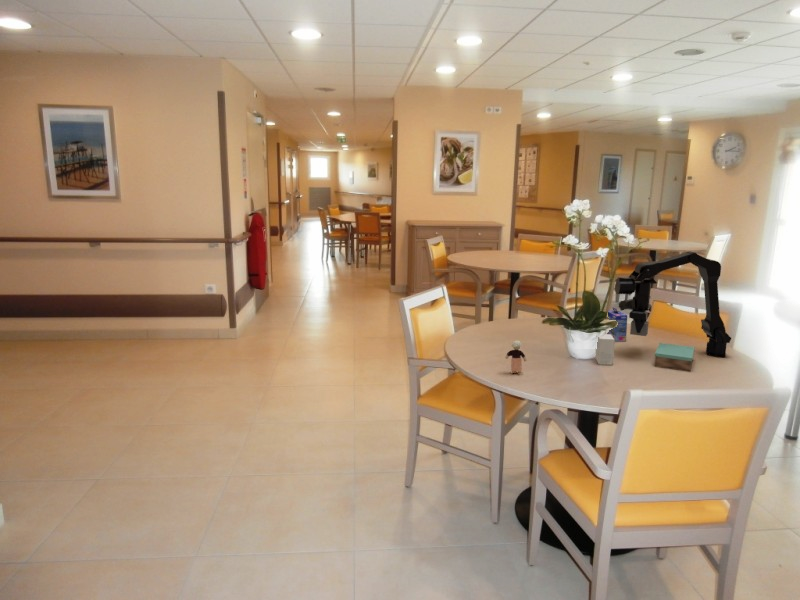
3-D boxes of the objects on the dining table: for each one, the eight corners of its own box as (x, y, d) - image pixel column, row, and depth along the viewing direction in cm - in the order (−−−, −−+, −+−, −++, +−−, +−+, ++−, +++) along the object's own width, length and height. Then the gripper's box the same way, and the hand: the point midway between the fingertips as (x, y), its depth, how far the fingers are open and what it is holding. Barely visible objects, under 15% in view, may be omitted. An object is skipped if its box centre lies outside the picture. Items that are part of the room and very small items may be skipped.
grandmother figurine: (525, 371, 200) (526, 339, 197) (526, 375, 196) (527, 342, 193) (504, 370, 201) (505, 338, 198) (505, 374, 197) (506, 341, 195)
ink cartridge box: (604, 335, 247) (606, 305, 244) (615, 335, 247) (618, 305, 244) (614, 341, 237) (617, 310, 234) (626, 341, 238) (629, 310, 235)
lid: (694, 350, 211) (694, 347, 210) (691, 361, 197) (692, 358, 197) (659, 345, 217) (659, 342, 217) (654, 356, 203) (655, 353, 203)
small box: (613, 365, 206) (615, 339, 204) (598, 364, 207) (599, 338, 205) (609, 359, 214) (611, 333, 211) (594, 358, 215) (596, 333, 213)
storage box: (692, 359, 212) (693, 350, 211) (689, 371, 198) (691, 361, 198) (659, 355, 218) (660, 345, 217) (654, 366, 204) (655, 356, 204)
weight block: (647, 333, 218) (648, 321, 217) (646, 336, 214) (647, 324, 213) (631, 331, 221) (632, 319, 220) (630, 334, 217) (631, 322, 216)
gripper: (624, 288, 226) (622, 324, 229) (617, 296, 211) (614, 334, 214) (653, 290, 220) (650, 327, 224) (647, 298, 205) (644, 337, 208)
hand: (639, 331), depth 217 cm, fingers closed on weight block, 5 cm apart
